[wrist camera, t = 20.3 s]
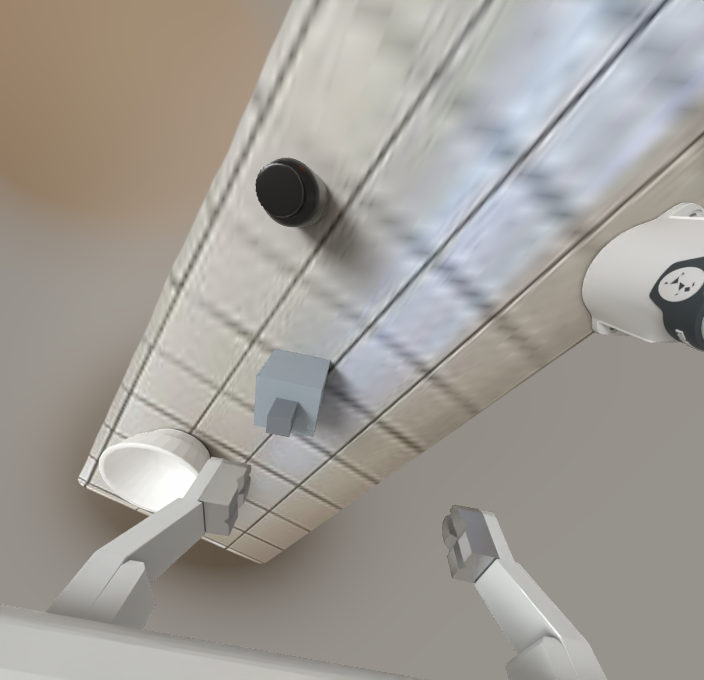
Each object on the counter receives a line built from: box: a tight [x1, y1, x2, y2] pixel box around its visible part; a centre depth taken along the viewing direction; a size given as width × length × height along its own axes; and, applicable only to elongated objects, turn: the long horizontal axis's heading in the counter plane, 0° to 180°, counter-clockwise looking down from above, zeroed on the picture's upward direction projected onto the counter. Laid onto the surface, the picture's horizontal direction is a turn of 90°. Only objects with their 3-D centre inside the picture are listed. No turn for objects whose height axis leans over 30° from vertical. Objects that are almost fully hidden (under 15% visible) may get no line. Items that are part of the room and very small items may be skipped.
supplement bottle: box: [256, 158, 329, 227], centre depth 31 cm, size 7×7×12 cm
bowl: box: [99, 429, 210, 513], centre depth 57 cm, size 22×22×8 cm
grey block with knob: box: [254, 349, 330, 437], centre depth 44 cm, size 10×10×13 cm
